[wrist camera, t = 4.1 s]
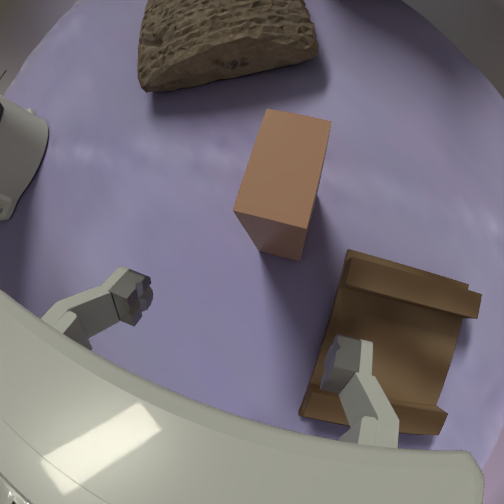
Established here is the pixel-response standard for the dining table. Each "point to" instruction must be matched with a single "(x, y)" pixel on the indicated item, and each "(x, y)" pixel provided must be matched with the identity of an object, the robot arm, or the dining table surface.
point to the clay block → (282, 182)
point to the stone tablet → (220, 40)
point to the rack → (395, 337)
